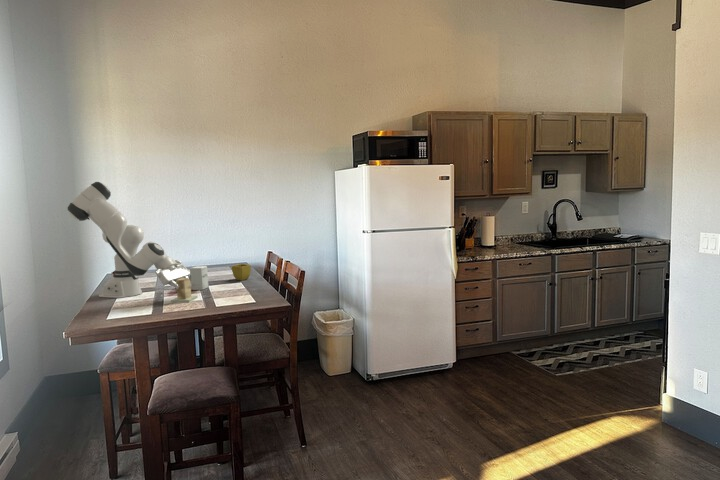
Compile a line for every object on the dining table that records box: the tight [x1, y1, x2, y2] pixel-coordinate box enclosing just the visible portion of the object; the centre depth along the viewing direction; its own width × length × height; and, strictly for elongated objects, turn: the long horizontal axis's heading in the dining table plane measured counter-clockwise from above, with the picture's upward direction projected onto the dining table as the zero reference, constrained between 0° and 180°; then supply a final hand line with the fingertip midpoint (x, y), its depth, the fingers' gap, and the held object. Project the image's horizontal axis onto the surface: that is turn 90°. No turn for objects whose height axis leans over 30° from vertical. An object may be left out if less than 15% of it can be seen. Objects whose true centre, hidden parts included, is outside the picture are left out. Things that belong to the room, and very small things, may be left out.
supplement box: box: [189, 265, 209, 291], centre depth 312 cm, size 7×7×13 cm
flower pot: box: [231, 263, 252, 281], centre depth 335 cm, size 9×9×9 cm
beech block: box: [175, 277, 192, 299], centre depth 283 cm, size 5×5×10 cm
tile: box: [170, 295, 198, 303], centre depth 284 cm, size 10×10×1 cm
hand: (184, 286), depth 283 cm, fingers open, 8 cm apart
